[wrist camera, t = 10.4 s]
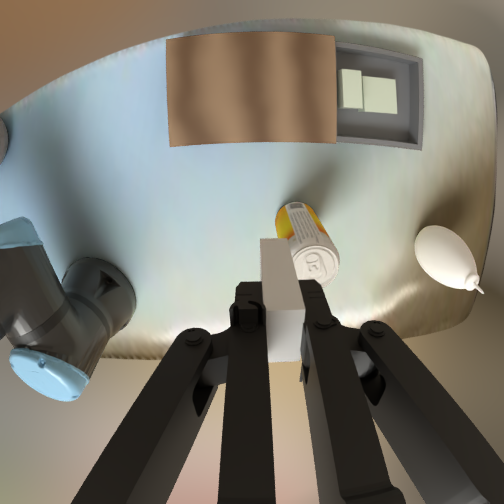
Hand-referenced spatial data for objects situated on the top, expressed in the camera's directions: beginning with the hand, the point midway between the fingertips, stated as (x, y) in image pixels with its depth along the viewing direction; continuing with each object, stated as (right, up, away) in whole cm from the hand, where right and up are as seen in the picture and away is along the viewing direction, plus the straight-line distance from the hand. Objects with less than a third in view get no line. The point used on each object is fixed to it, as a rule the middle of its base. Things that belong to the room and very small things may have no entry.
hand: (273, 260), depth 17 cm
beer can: (+5, +5, +27) cm, 28 cm away
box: (+16, +23, +18) cm, 33 cm away
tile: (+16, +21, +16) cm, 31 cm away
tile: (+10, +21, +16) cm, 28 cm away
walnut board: (-1, +22, +19) cm, 29 cm away
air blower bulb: (+28, +3, +28) cm, 40 cm away
